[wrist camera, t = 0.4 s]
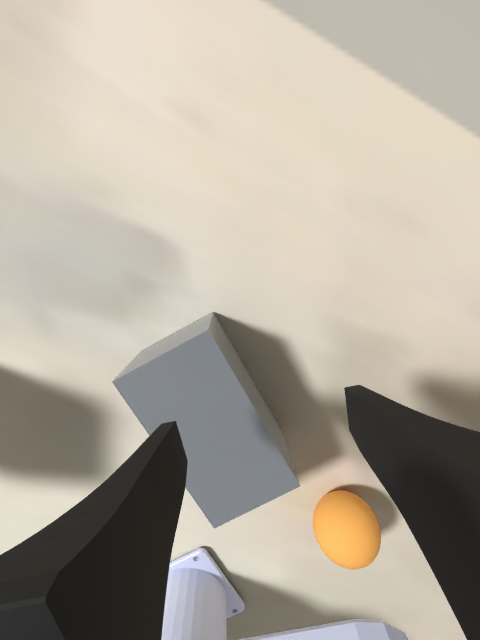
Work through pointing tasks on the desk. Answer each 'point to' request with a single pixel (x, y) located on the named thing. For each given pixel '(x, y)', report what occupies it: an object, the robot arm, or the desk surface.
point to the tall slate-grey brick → (211, 419)
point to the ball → (346, 529)
